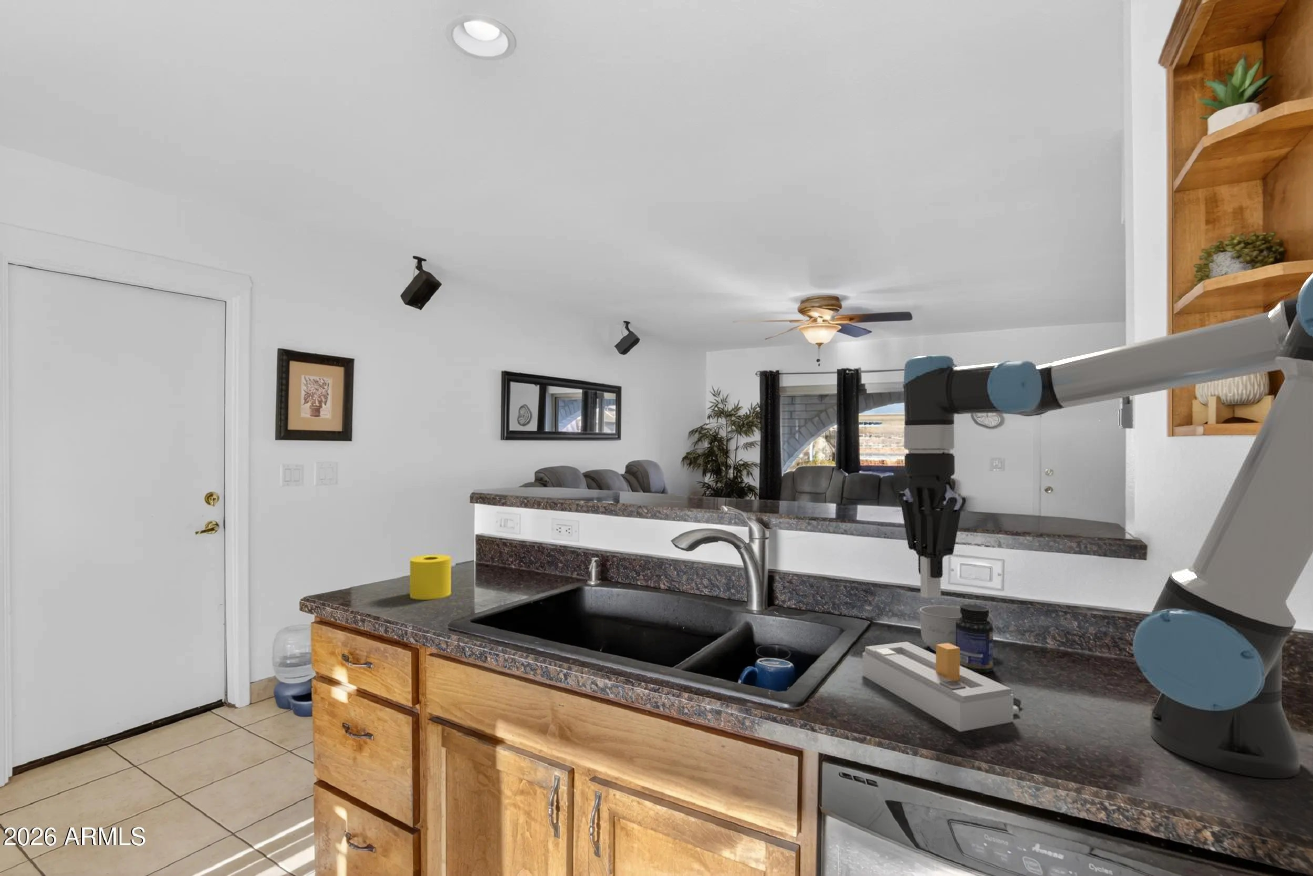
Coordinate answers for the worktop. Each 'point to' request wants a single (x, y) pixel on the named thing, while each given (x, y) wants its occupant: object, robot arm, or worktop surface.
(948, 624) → the teacup
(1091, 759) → the worktop surface
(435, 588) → the yellow toilet paper roll
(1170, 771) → the worktop surface
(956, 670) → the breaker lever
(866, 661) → the slider switch box
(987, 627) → the pill bottle
